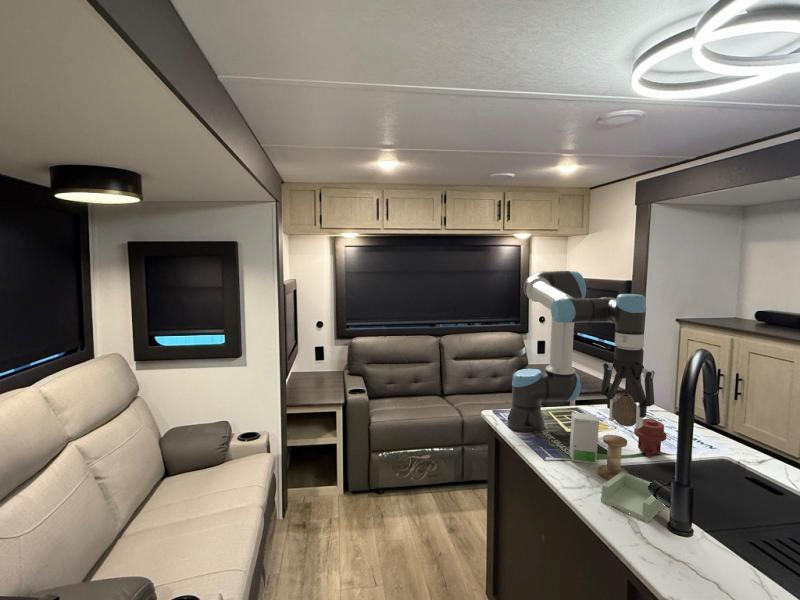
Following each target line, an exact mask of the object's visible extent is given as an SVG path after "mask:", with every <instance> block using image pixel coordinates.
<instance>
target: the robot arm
mask: <svg viewBox="0 0 800 600" xmlns="http://www.w3.org/2000/svg"><path fill="white" fill-rule="evenodd" d="M523 292H524V295H525V296H526V297H527V299H529V300H531V301H532V302H535V303H539V304H541V305H542V306H544V307H545V308H547V309H548V310H550V315H551V330H550V347H549V349H550V351H549V364H548V365H547V366H546V367H545V372H542V371H541V370H540V369H537V368H522V369H519V370H517V371H516V372H514V373H513V374H512V382H511V385H512V386H511V387H512V388H511V407H510V410H509V413H508V415H507V419H506V420H507V422H506V424H507V426H508V427H509V428H510V429H512V430H514V431H517V432H520V433H521V432H522V433H531V434H532V433H539V432H542V431H544V429H545V422H546V421H545V419H544V415H543V412H542V408H541V407H542V403H543V402H546V403H547V402H549V403H550V402H551V403H552V402H561V403H566V402H572V401H575V400H576V399H578V397H579V395H580V394H581V393H580V392H581V389H582V388H581V387H582V386H581V385H582V384H581V378H580V375H579V374H578V373H576V369H575V368H574V367H573V351H574V349H573V348H574V334H575V333H574V330H575V323H611V324H612V323H613V324H615V325H614V326H615V329H614V330H615V332H614V345H615V347H614V352H613V353H614V355H613V362H606V363H605V362H604V364H603V365H602V367H603V378H602V383H601V384H602V385H601V390H600V395H602V396H605V397H606V406H607V407H606V408H607V409H609V421H610V422H612V421H615V419H614V416H613V407H614V404H615V403H616V401H617V400H618V398H617V397H616V395H617V392H618V389H619V387H620V385H621V382H622V381H623V379H626V380H629V381H630V383H631V384H632V386H633V389H634V392H635V395H636V398H637V402H638V405H637V407H636V424H635V428H637V429H639V428H641V427H642V425H643V419H645V418H646V417H647V411H648V410H647V409H648V408H649V407H652V406H653V405H654V406H655V394H654V393H655V392H654V390H655V389H654V376H655V371H654V370H648V369H646V368H645V367H644V347H645V331H646V330H645V328H646V315H647V306H646V305H647V304H646V297H645V296H644V295H643V294H639V293H638V294H636V293H620V294H618V295H617V296H616V298H615V297H613V296H612V297H611V296H608V297H607V296H604V297H599V298H598V297H596V298H595V297H593V298H587V297H586V294H587V286H586V280H585V279H584V277H583V275H582V274H581V273H580V272H578V271H575V270H574V271H573V270H555V271H554V270H553V271H549V270H548V271H546V270H543V271H537V272H535V273H533V274H531V275H529V276H528V277H527V278H526V280H525V281H524V283H523ZM585 297H586V298H585ZM613 370H615V373H616V374H615V375H614V378H613V381H612V374H613ZM641 374H643V377H644V388H643V384H642V378H641ZM611 381H612V383H611Z"/></svg>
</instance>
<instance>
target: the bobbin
mask: <svg viewBox="0 0 800 600" xmlns="http://www.w3.org/2000/svg"><path fill="white" fill-rule="evenodd" d="M602 442H603V443H604V444H606V445H607V451H606V452H607V454H606V457H607V458H606V464H602V465H599V466H598V469H597V475H599V476H600V477H601V478H603V479H604V480H606V481H609V480H610V479H612V478H613V477H615V476H616V475H617V474H619V473H620V472H625V473H628V474H630V473H629V471H627V470H626V469H624V468H623V467H621V464H622V451H623V450H622V449H623V448H624V447H627V446H628V440H627V439H626V438H625V437H623V436H621V435H617V434H605V435H603V437H602Z"/></svg>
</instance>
